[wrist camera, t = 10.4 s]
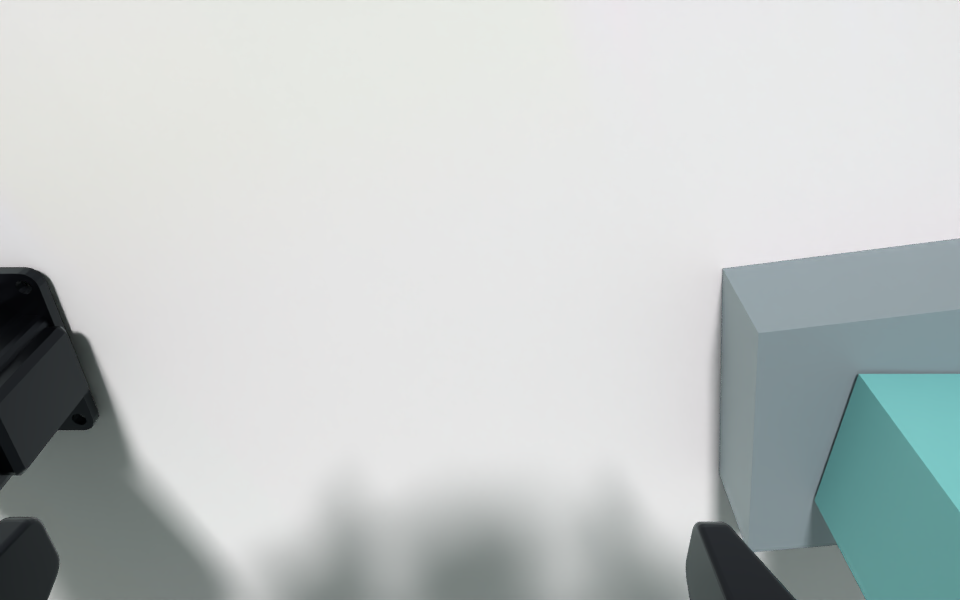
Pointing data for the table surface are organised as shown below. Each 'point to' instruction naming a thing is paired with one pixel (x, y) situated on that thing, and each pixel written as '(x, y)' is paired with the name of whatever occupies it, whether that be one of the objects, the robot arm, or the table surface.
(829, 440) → the base brick
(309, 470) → the table surface
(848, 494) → the teal block
